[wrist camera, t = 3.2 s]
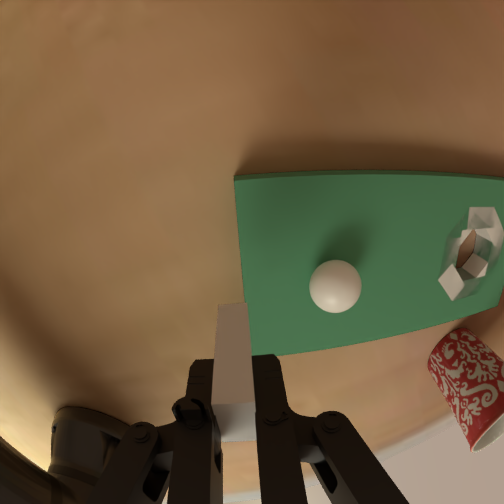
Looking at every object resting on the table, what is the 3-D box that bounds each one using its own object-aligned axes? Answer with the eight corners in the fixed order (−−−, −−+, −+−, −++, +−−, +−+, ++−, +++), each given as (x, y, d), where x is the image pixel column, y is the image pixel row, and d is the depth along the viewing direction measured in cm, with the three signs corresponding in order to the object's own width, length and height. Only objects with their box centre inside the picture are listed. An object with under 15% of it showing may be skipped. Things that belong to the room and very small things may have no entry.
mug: (419, 345, 28) (480, 432, 15) (477, 308, 27) (545, 375, 14) (420, 400, 32) (460, 471, 20) (470, 369, 31) (515, 430, 19)
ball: (303, 298, 21) (315, 326, 18) (304, 254, 20) (317, 277, 17) (348, 293, 21) (366, 318, 18) (351, 249, 20) (372, 270, 17)
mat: (248, 339, 25) (250, 358, 23) (233, 175, 20) (233, 180, 18) (485, 295, 26) (497, 305, 24) (506, 177, 21) (522, 182, 19)
